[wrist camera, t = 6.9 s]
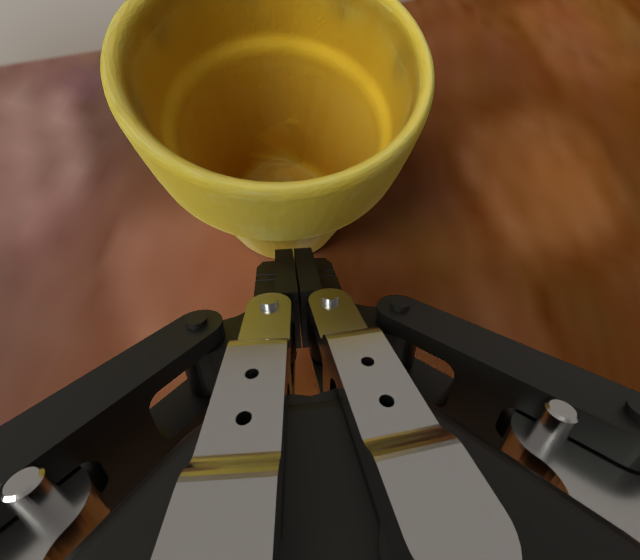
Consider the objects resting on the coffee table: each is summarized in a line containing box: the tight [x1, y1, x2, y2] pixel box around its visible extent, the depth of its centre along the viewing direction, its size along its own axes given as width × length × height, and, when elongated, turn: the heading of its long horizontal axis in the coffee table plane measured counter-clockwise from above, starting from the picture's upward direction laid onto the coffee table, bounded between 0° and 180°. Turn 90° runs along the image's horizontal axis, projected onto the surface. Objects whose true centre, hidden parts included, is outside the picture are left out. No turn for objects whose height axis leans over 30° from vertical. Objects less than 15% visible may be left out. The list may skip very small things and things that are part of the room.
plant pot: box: [100, 0, 435, 258], centre depth 14 cm, size 10×10×10 cm
